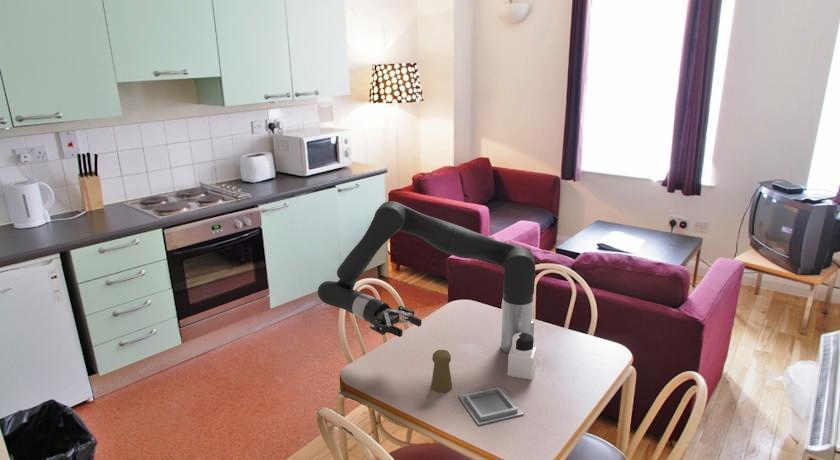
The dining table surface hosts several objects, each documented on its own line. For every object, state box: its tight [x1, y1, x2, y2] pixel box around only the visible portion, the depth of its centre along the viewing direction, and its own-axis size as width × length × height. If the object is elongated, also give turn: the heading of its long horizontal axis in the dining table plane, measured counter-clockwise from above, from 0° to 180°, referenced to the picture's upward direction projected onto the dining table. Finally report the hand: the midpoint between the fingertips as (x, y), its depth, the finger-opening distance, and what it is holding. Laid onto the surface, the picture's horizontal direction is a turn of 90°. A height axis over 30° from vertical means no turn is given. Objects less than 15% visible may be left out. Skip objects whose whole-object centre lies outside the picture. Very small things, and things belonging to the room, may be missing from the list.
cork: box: [430, 349, 453, 394], centre depth 156 cm, size 6×6×11 cm
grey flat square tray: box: [458, 386, 525, 427], centre depth 148 cm, size 13×13×1 cm
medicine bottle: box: [507, 333, 537, 381], centre depth 162 cm, size 7×7×12 cm
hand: (411, 328), depth 159 cm, fingers open, 8 cm apart
